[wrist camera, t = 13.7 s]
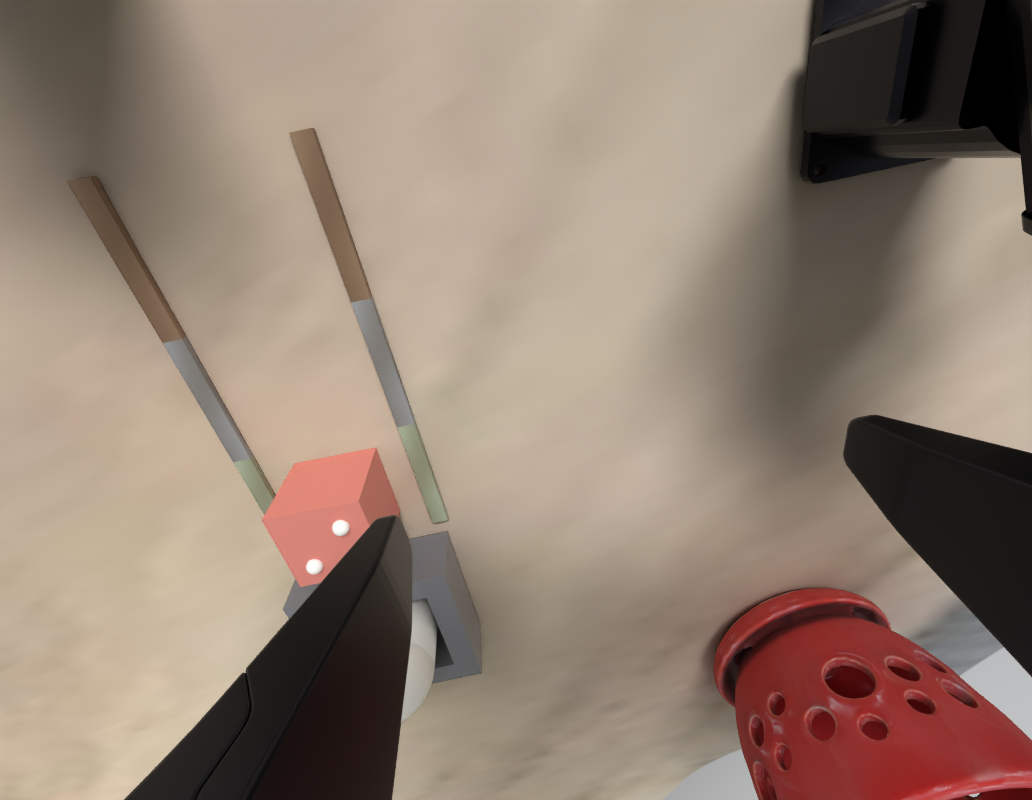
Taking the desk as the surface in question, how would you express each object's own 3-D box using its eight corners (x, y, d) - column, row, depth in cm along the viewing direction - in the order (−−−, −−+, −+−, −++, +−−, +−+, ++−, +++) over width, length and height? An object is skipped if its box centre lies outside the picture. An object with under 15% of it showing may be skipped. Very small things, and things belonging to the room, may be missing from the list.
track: (314, 128, 16) (311, 128, 16) (448, 516, 24) (447, 520, 24) (73, 181, 16) (66, 181, 16) (289, 549, 25) (287, 553, 24)
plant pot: (890, 648, 34) (1081, 871, 23) (718, 708, 36) (823, 941, 25) (876, 531, 28) (1123, 759, 17) (671, 609, 30) (782, 860, 19)
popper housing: (447, 531, 25) (444, 575, 22) (480, 625, 29) (481, 673, 26) (302, 561, 25) (282, 609, 22) (354, 651, 29) (342, 701, 26)
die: (376, 446, 22) (356, 507, 18) (400, 509, 24) (386, 576, 20) (294, 462, 22) (257, 526, 18) (325, 524, 24) (297, 594, 20)
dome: (426, 563, 25) (413, 679, 20) (448, 619, 28) (443, 738, 22) (340, 581, 25) (303, 702, 20) (370, 636, 28) (344, 758, 22)
